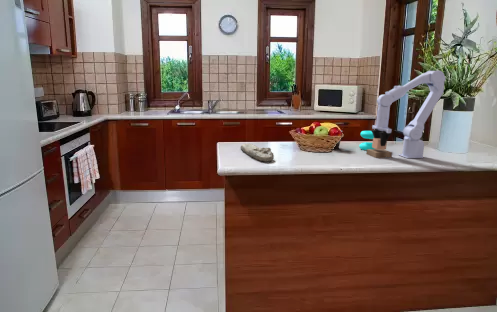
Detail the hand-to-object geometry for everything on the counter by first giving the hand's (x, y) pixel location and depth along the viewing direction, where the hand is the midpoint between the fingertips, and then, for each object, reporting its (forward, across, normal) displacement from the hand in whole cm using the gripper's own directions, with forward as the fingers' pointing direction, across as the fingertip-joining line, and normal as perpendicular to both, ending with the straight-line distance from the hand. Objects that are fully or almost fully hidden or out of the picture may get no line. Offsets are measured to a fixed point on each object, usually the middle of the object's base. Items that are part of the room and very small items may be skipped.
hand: (379, 144), depth 182 cm
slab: (+6, 0, 0) cm, 6 cm away
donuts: (+6, -16, +3) cm, 17 cm away
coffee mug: (+6, -20, -15) cm, 26 cm away
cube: (+2, 0, 0) cm, 2 cm away
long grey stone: (+6, -9, -63) cm, 64 cm away
